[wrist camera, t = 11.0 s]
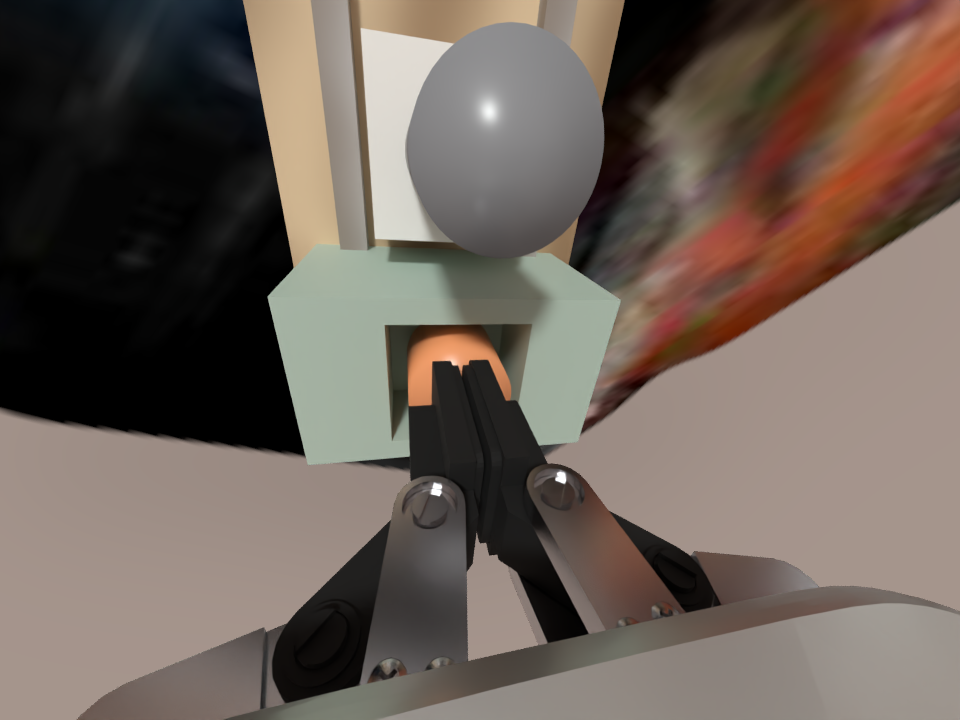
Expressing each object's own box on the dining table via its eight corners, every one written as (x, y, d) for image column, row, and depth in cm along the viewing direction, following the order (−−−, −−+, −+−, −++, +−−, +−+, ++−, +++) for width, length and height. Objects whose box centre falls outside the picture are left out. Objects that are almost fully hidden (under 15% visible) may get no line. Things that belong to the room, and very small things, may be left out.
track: (675, -364, 9) (804, -608, 6) (538, 350, 20) (561, 384, 17) (149, -619, 7) (-49, -1229, 4) (319, 356, 18) (304, 396, 15)
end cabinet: (539, 246, 17) (620, 300, 11) (522, 351, 20) (577, 442, 14) (313, 235, 15) (250, 296, 9) (332, 355, 18) (294, 466, 12)
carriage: (518, 79, 12) (720, -47, 4) (502, 229, 14) (613, 312, 7) (369, 56, 11) (299, -159, 3) (379, 222, 13) (352, 312, 6)
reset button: (494, 313, 13) (517, 352, 10) (486, 384, 14) (505, 434, 12) (405, 313, 12) (407, 355, 9) (407, 388, 14) (409, 441, 11)
